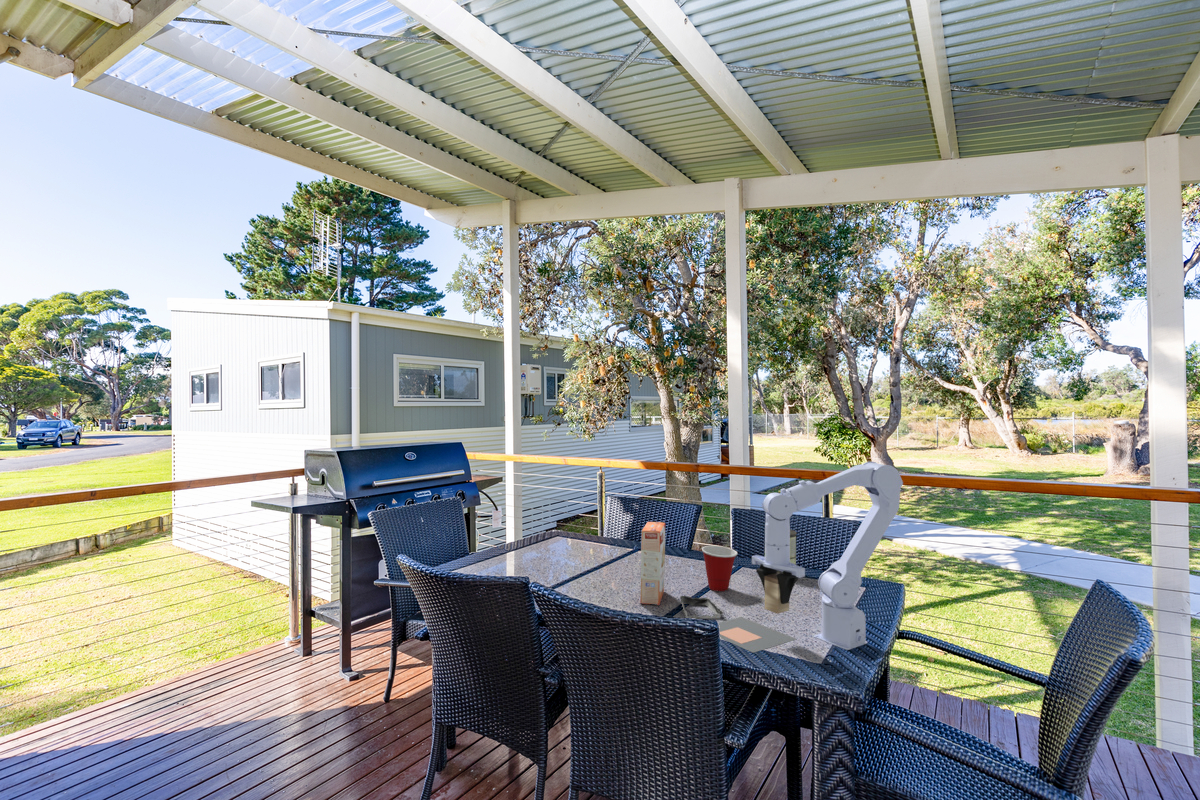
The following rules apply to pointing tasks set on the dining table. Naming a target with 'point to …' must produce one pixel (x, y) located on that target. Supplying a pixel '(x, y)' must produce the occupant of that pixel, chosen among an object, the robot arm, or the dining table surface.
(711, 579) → the plastic cup
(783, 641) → the rubber mat
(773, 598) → the maple block
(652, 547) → the cracker box
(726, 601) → the dining table surface
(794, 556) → the coffee can
